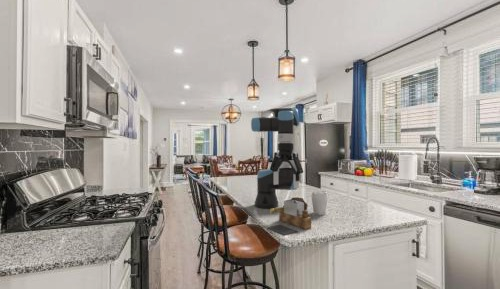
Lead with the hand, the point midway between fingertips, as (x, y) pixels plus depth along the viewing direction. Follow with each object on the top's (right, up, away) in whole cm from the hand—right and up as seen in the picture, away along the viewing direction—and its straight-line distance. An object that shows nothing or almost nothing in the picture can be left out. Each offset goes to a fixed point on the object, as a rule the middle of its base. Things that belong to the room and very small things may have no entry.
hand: (285, 186), depth 128 cm
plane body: (+5, -19, +2) cm, 20 cm away
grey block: (+4, -14, +2) cm, 15 cm away
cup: (+22, -19, +22) cm, 37 cm away
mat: (-3, -19, -7) cm, 20 cm away
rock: (+9, -19, +17) cm, 27 cm away
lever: (-4, -14, +4) cm, 15 cm away
